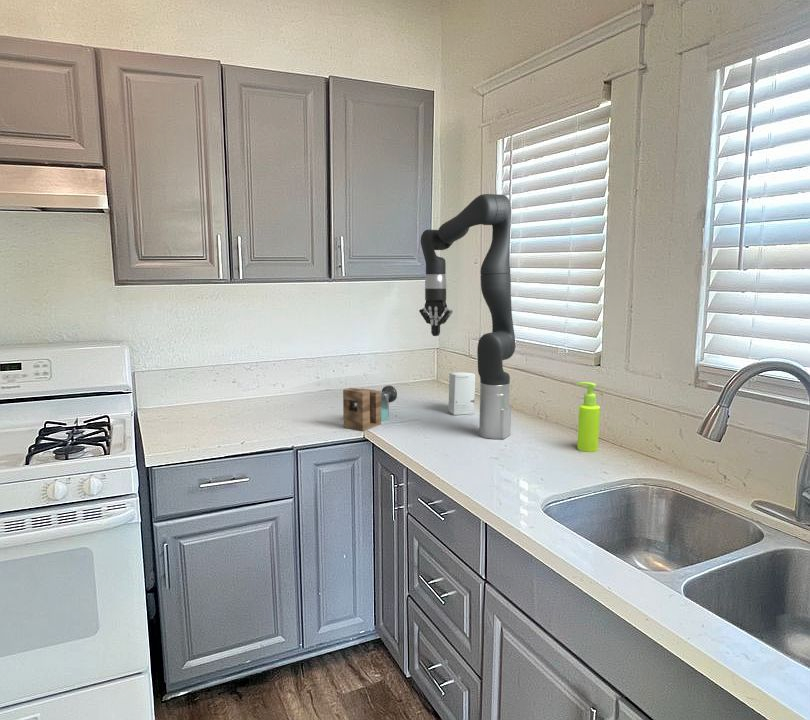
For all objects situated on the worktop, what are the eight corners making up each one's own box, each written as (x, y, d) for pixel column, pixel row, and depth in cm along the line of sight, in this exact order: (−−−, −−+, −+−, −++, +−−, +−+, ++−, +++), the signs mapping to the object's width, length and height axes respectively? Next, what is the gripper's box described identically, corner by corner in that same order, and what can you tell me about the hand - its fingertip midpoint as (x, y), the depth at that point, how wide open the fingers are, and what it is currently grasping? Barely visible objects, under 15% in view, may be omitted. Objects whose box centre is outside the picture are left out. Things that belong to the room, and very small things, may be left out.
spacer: (388, 420, 214) (388, 409, 213) (378, 423, 209) (378, 412, 208) (376, 418, 217) (376, 407, 216) (366, 421, 212) (366, 410, 211)
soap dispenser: (578, 444, 186) (582, 379, 182) (600, 448, 181) (604, 382, 178) (570, 448, 181) (573, 383, 178) (593, 453, 177) (596, 386, 174)
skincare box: (453, 415, 219) (454, 375, 217) (447, 411, 225) (448, 372, 222) (475, 413, 222) (476, 373, 219) (468, 410, 227) (469, 371, 225)
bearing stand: (381, 424, 208) (380, 386, 206) (362, 431, 199) (362, 392, 197) (362, 420, 212) (362, 384, 210) (343, 427, 204) (343, 389, 202)
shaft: (397, 414, 218) (397, 386, 216) (362, 427, 201) (362, 397, 199) (383, 412, 221) (383, 384, 220) (348, 425, 204) (347, 395, 202)
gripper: (414, 287, 216) (414, 335, 219) (446, 287, 209) (446, 338, 211) (425, 286, 222) (425, 333, 225) (457, 287, 215) (457, 335, 218)
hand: (435, 335), depth 218 cm, fingers closed
